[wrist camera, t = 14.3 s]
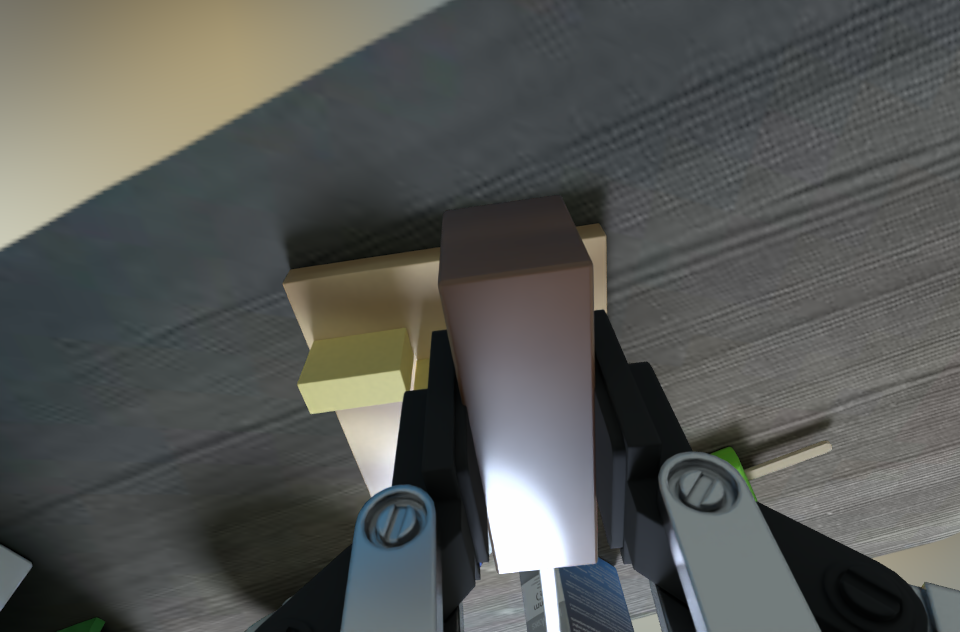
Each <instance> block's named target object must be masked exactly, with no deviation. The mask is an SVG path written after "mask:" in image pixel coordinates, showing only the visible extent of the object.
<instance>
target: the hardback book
mask: <svg viewBox="0 0 960 632" xmlns="http://www.w3.org/2000/svg"><path fill="white" fill-rule="evenodd" d="M104 623H105V621H103V620H101V619H99V618H97V617H96V618H93V619H90V620H87V621H84V622H82V623H79V624H76V625H73V626H70V627H68V628H65V629H62V630H59V631H56V632H100V631H101V629H102V627H103V625H104Z"/></svg>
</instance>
